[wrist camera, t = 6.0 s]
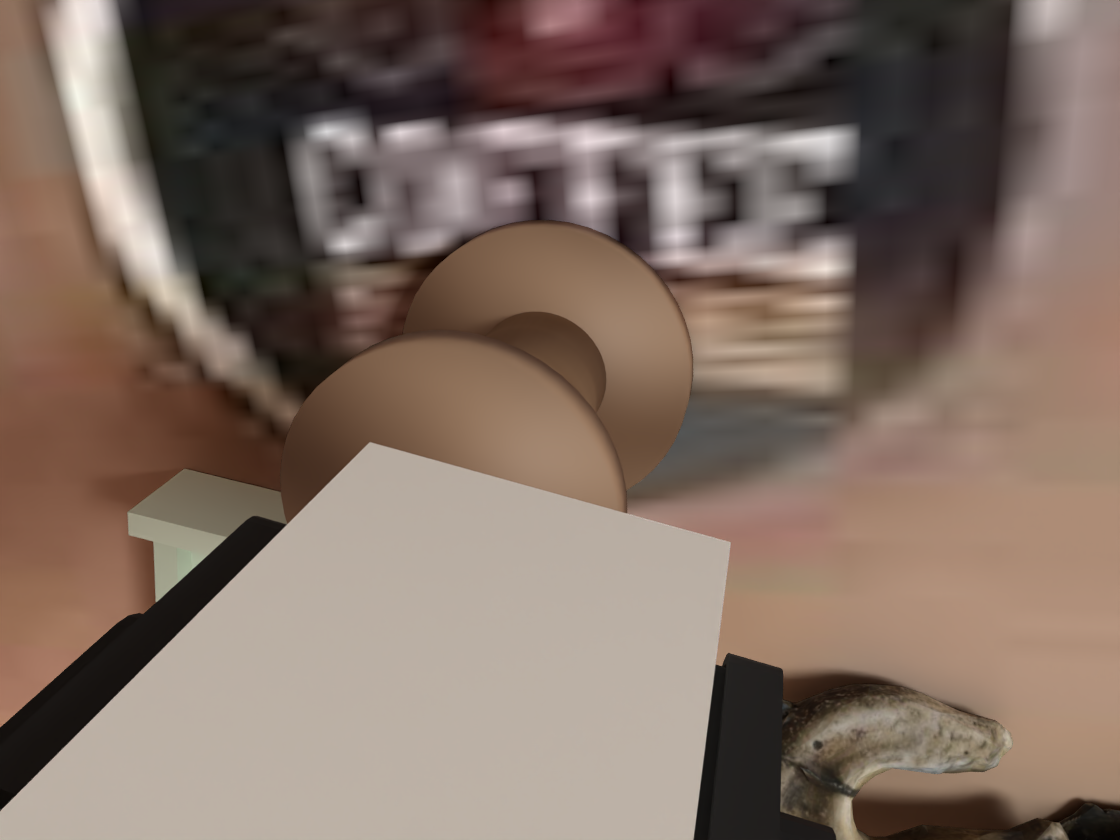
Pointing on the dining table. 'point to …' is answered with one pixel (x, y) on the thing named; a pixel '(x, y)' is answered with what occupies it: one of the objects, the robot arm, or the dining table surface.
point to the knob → (514, 372)
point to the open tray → (196, 520)
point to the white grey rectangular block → (416, 679)
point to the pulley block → (899, 760)
